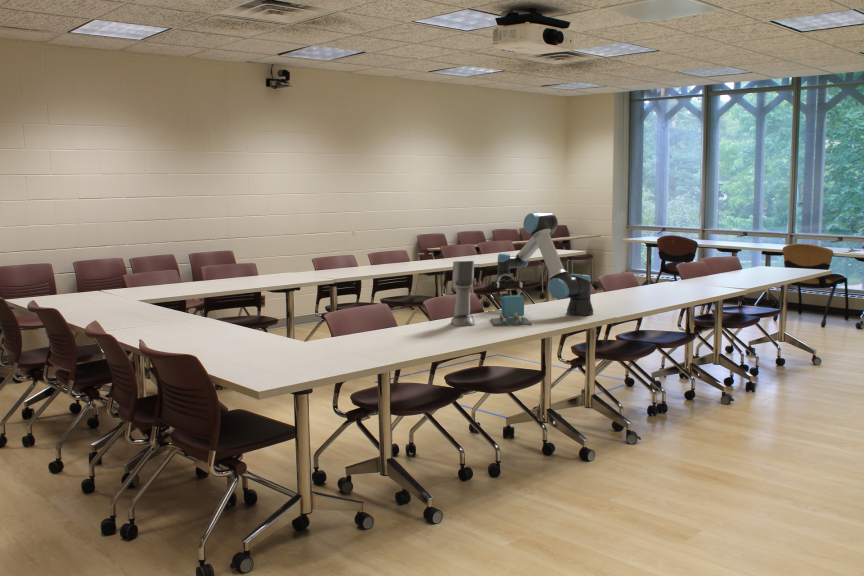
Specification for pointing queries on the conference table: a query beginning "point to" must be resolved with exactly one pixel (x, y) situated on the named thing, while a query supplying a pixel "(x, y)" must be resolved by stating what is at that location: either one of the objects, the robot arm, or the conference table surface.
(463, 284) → the grey pedestal post
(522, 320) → the chassis
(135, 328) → the conference table surface
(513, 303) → the teal square slab
